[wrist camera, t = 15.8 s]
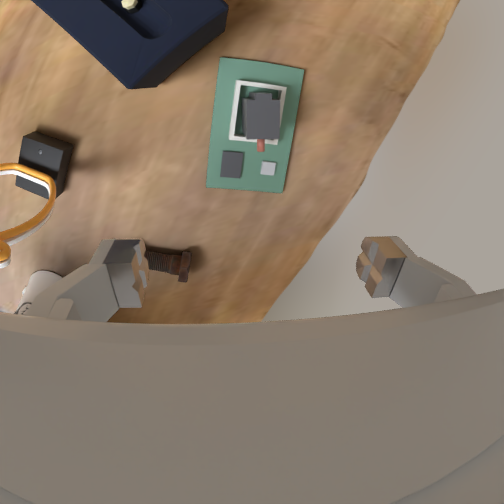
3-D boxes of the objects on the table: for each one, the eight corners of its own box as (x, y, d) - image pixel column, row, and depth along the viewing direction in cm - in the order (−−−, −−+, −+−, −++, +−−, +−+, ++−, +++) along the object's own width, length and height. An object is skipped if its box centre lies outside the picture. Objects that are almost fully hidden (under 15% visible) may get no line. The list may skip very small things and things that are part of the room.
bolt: (114, 238, 48) (191, 251, 52) (110, 264, 49) (187, 278, 52) (105, 238, 43) (191, 254, 46) (101, 268, 43) (186, 284, 46)
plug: (269, 143, 40) (279, 154, 34) (242, 143, 39) (247, 155, 34) (269, 92, 36) (280, 93, 30) (241, 92, 35) (246, 93, 29)
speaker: (225, 32, 31) (231, 4, 18) (157, 88, 34) (126, 91, 22) (136, -44, 20) (107, -84, 8) (73, 11, 23) (21, -5, 11)
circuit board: (280, 191, 45) (284, 198, 43) (206, 185, 43) (205, 192, 41) (302, 70, 35) (308, 69, 32) (220, 58, 33) (220, 55, 30)
